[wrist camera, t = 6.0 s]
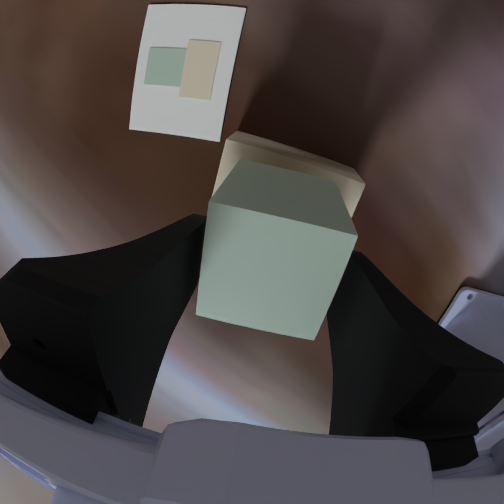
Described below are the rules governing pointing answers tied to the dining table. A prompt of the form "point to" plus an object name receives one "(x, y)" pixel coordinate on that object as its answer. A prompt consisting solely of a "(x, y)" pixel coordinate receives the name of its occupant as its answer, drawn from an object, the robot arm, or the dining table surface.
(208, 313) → the sage block
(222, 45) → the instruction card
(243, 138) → the maple base
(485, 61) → the dining table surface
